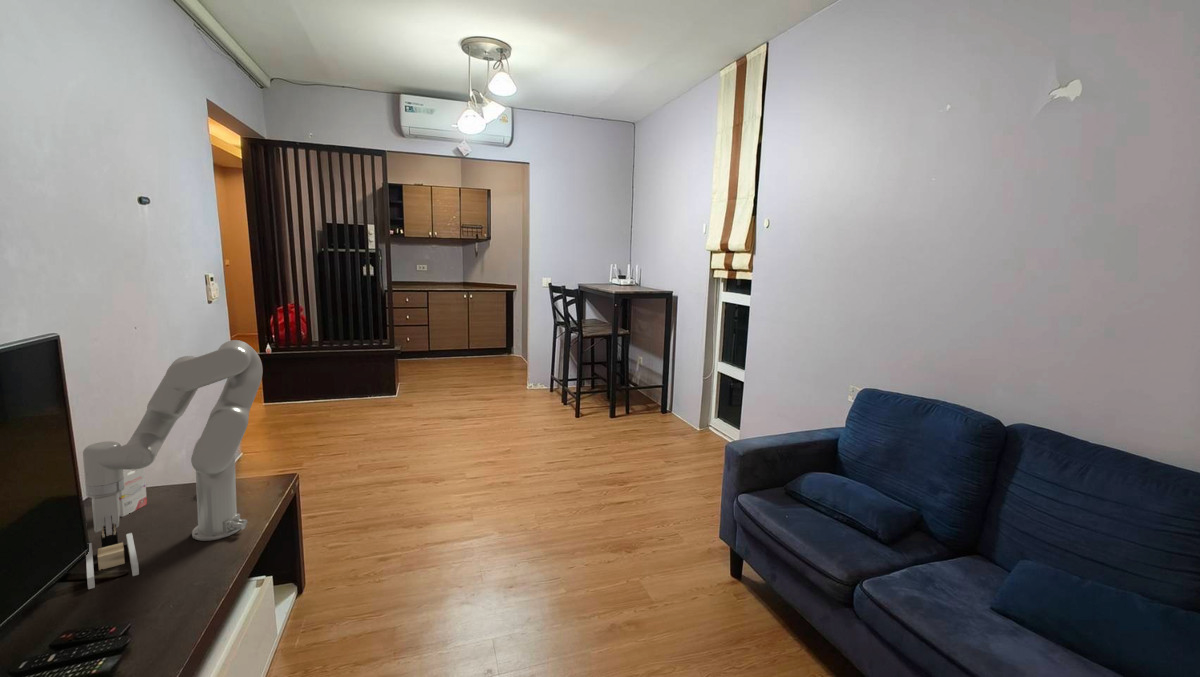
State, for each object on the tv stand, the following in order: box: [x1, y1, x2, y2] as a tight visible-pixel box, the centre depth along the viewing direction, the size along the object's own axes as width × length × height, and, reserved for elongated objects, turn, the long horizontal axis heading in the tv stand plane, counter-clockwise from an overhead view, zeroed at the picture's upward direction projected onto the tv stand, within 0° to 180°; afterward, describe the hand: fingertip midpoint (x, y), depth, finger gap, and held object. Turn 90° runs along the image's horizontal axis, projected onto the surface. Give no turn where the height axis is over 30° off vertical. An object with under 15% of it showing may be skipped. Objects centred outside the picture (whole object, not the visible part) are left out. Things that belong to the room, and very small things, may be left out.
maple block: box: [97, 542, 126, 571], centre depth 134 cm, size 5×5×4 cm
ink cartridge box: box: [119, 468, 148, 518], centre depth 160 cm, size 9×5×15 cm, turn 179°
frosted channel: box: [85, 532, 140, 590], centre depth 134 cm, size 20×9×3 cm, turn 47°
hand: (110, 547), depth 139 cm, fingers closed
